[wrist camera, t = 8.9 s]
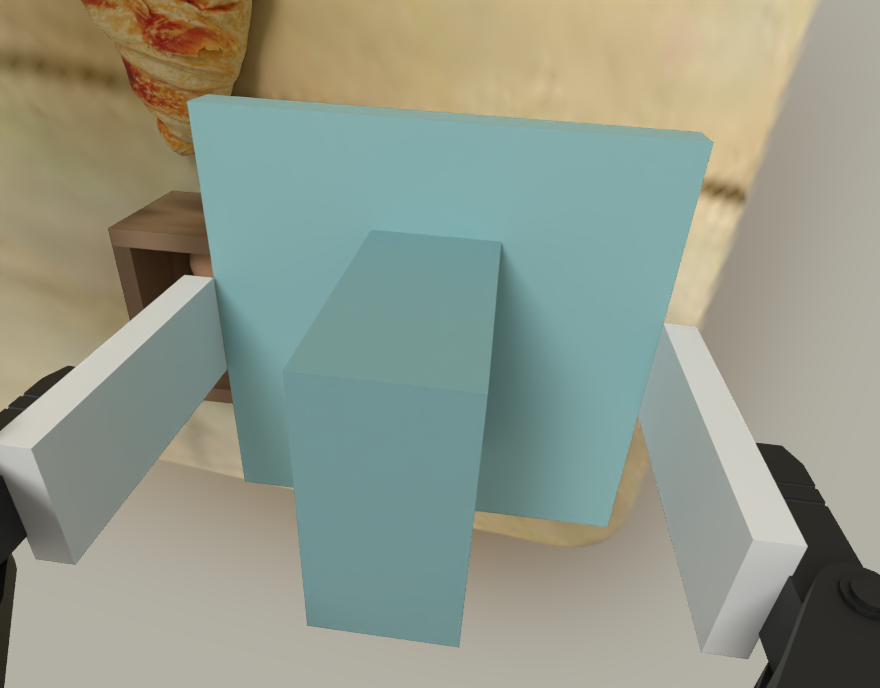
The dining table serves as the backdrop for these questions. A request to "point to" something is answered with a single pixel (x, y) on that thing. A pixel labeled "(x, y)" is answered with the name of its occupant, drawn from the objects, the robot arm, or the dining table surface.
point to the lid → (434, 327)
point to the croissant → (176, 53)
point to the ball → (201, 265)
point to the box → (162, 255)
